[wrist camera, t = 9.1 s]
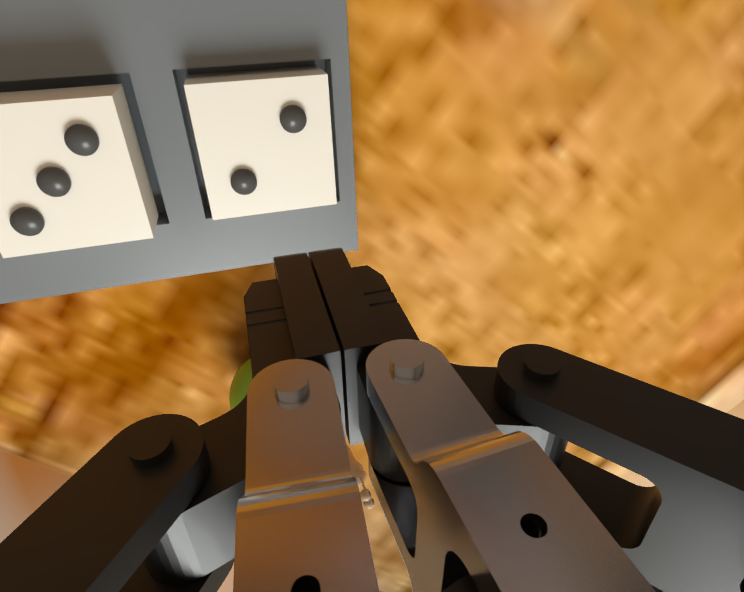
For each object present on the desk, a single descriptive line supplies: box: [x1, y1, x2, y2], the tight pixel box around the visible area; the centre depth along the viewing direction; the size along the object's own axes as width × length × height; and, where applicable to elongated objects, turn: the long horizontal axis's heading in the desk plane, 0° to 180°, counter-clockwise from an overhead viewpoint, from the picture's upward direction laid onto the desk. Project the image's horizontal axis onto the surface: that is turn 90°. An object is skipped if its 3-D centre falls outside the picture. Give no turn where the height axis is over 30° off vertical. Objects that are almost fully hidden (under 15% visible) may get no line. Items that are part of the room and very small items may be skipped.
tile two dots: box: [184, 65, 337, 220], centre depth 22 cm, size 6×6×3 cm
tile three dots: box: [0, 84, 158, 258], centre depth 20 cm, size 6×6×3 cm
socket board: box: [0, 0, 358, 304], centre depth 22 cm, size 12×24×3 cm, turn 92°
